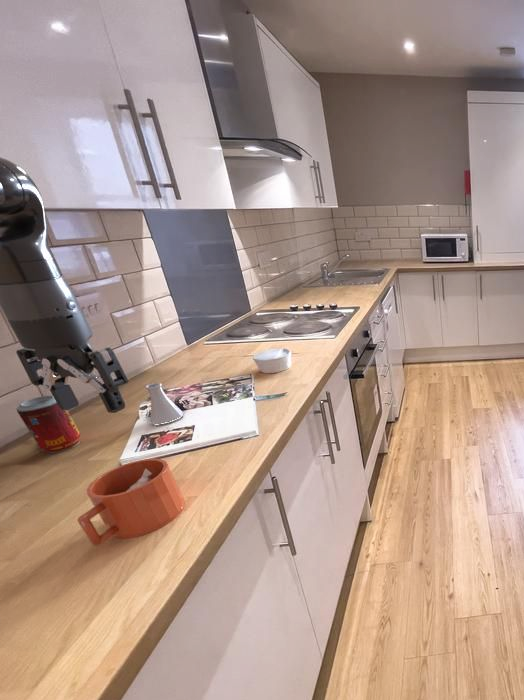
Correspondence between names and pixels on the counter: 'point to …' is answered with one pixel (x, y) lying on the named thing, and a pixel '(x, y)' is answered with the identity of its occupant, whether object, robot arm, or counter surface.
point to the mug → (132, 501)
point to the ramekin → (273, 360)
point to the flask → (161, 405)
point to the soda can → (49, 424)
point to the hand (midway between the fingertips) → (94, 409)
